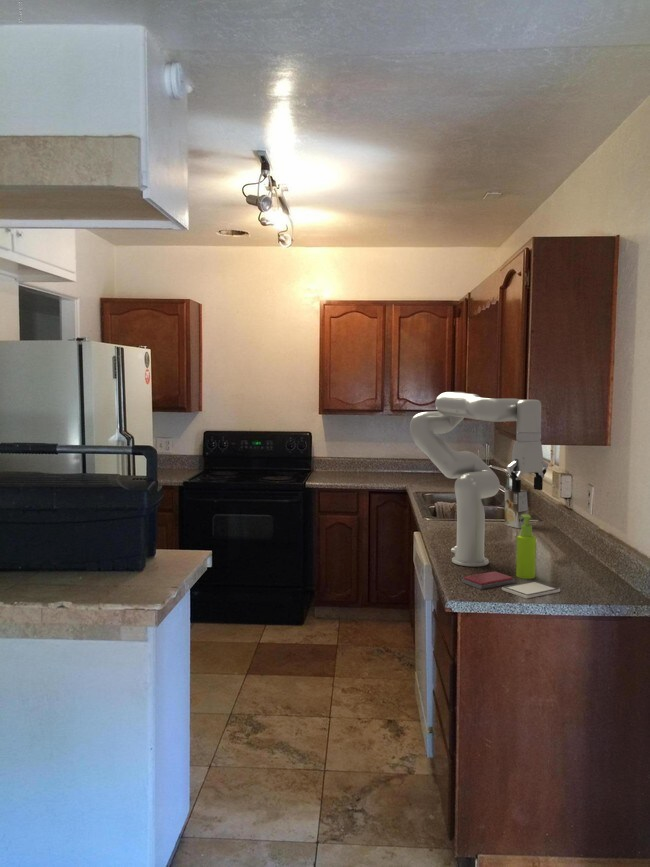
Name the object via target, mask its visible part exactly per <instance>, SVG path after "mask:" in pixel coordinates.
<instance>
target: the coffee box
mask: <svg viewBox="0 0 650 867" xmlns="http://www.w3.org/2000/svg"><path fill="white" fill-rule="evenodd" d="M529 502H530V491H529V490H525V489H521V492H519V493H518V492H513V491H512V488H508V489H504V526H507V527H512V528H515V529H521V525H523V524H524V517H523V516H521V514H528V515H530V514H529V512H530V511H529V510H530V509H529V507H530V506H529V504H530V503H529Z"/></svg>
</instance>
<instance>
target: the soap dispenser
mask: <svg viewBox="0 0 650 867" xmlns="http://www.w3.org/2000/svg"><path fill="white" fill-rule="evenodd" d="M521 516H523V517H524V524H523V525H521V528H520V534H517V535H516V564H515V565H516V569H515V570H516V571H515V572H516V573H515V576H516V577H517V578H520V579H524V580H525V579H527V580H528V579H529V580H530V579H531V580H532V579H535V578H536V550H537V548H536V547H537V536H535V535H533V526H532V525H531V524H530V521H531V520H530V519H532V516H531V515H530V514H529V515H528V514H521Z"/></svg>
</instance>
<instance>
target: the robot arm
mask: <svg viewBox="0 0 650 867" xmlns="http://www.w3.org/2000/svg"><path fill="white" fill-rule="evenodd" d="M434 405H435V409H436V411H435V410H434V411H423V412H418V413H416V414H415V415H414V416H413V417H412V418H411V420H410V422H409V432H410V437H411V439H412V441H413V442H414V445H415V446H416V447H418V449H419V450H420V451H421V452H422V453H423V454H424V455H425V456H426V457H428V458H429V460H430V461H431V462H432V464H433V465H434V466H436V467H437V469H438V470H439V471H440V472H441V473H442V474H443V475H444V477H446V478H448V479H450V480H451V479H453V480H454V479H456V480H455V482H454V494H455V499H456V500H455V502H456V545H455V546H454V547H452V548H451V549H450V551H451V553H454V556H453V557H452V558H451V562H452V563H453V564H455V565H458V566H464V567H471V568H472V567H484V566H488V565H489V563H490V562H489V559H488V558H487V557H485V530H486V529H485V524H486V521H485V520H486V517H485V516H486V514H485V507H484V504H483V502H482V499H487V498H492V497H494V496H496V495H497V493H498V492H499V491H500V488H501V483H500V479H499V478H498V476H497V474H496V472H494V471H493V469H491V468H490V467H489V465H488V464H486V462H485V461H484V460H483V459H482V458H481V457H480V456H478V455H477V454H476V453H474V452H472V451H469V450H463V451H462V450H461V451H459V450H458V451H457V450H455V449H453V448H452V446H450V445H449V444H448V443H447V441H445V440H444V439H443V438H441V437H440V436H438V435H442V434H443V435H444V434H447V433H450V432H451V431H452V430H454V429H455V428H456V427H457V426H458V425H459V424H460V423H461V422H462V421H463V420H464V419H472V420H478V421H484V422H485V421H486V422H495V423H500V422H516V431H515V432H516V435H515V436H516V438H515V439H516V440H515V441H514V443H513V447H512V454H511V462H510V463H509V464H508V465H507V466H506V471H507V473H508V476H509V477H510V479H511V489H512V491H513V492H518V493H519V492H521V490H522V488H521V486H522V485H521V484H522V481H521V479H520V478H521V477H522V475H523V474H524V475H525V474H526V475H528V474H534V477H533V489H534V490H537V491H543V487H544V485H543V483H544V482H543V480H544V477H545V474H546V473H547V469H548V466H549V463H547V461H544V454H543V445H542V442H541V439H542V428H541V427H542V402H541V401H540V400H539V399H521V398H520V399H519V398H488V397H481V396H480V395H479V394H476V393H466V392H465V391H446V392H442V393H440V394H439V395H438V396H437V397H436V399H435V404H434Z"/></svg>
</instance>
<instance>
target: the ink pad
mask: <svg viewBox="0 0 650 867" xmlns="http://www.w3.org/2000/svg"><path fill="white" fill-rule="evenodd" d="M461 583H462V584H465V585H468V586H470V587H474V588H476V589H479V590H485V589H490V588H495V587H496V588H497V587H503V586H508V585H514V584H516V579H515V578H513V576H510V575H507V574H504V573H501V572H498V571H489V572H483V573H479V574H472V575H466V576H463V577H462V578H461Z"/></svg>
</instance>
